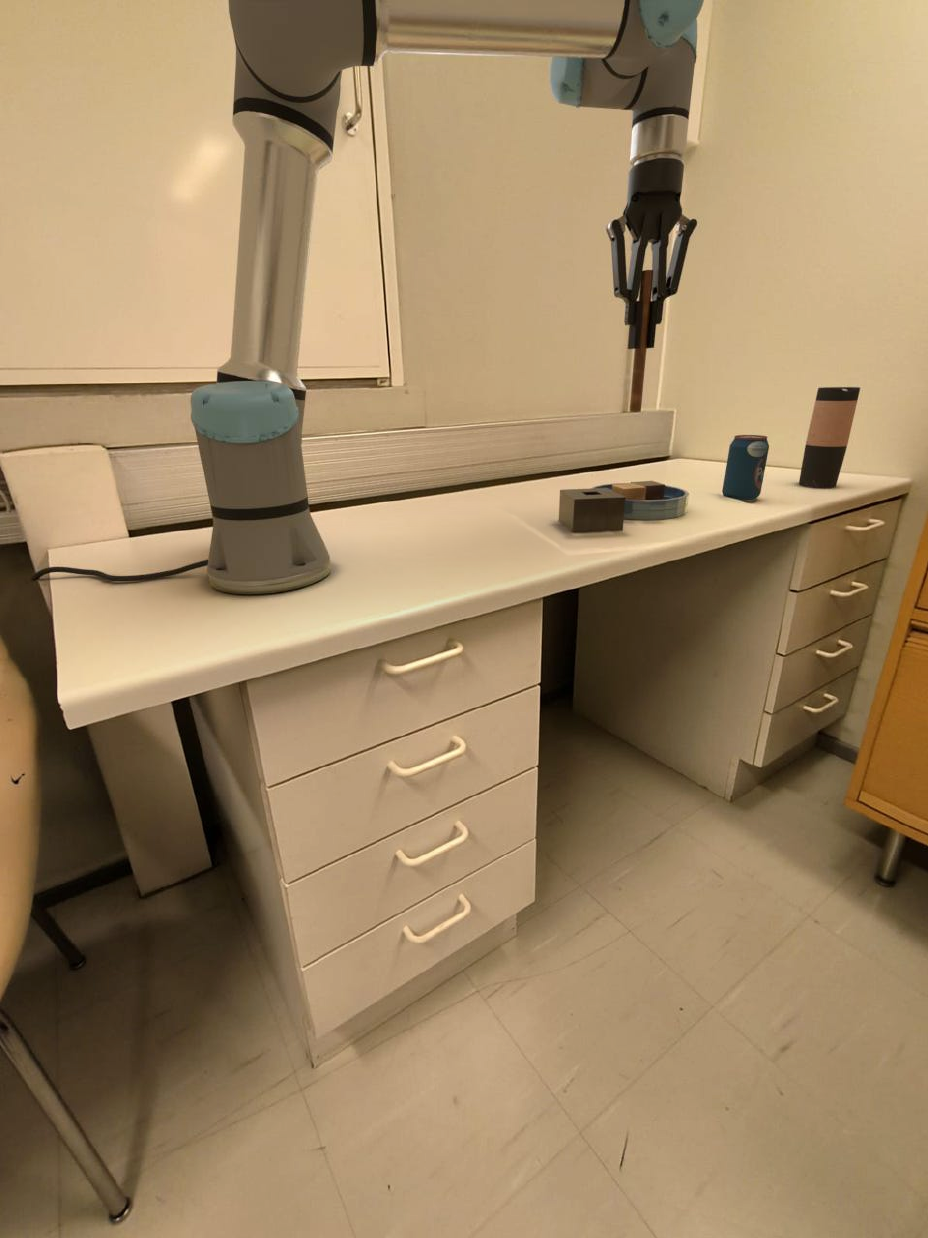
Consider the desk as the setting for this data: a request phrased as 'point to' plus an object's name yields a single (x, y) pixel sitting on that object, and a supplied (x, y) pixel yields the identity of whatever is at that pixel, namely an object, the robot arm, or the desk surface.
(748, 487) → the soda can
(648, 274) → the stirring stick
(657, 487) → the walnut block
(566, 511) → the stand
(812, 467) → the travel mug
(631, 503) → the bowl
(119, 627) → the desk surface
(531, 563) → the desk surface
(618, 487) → the pine block
